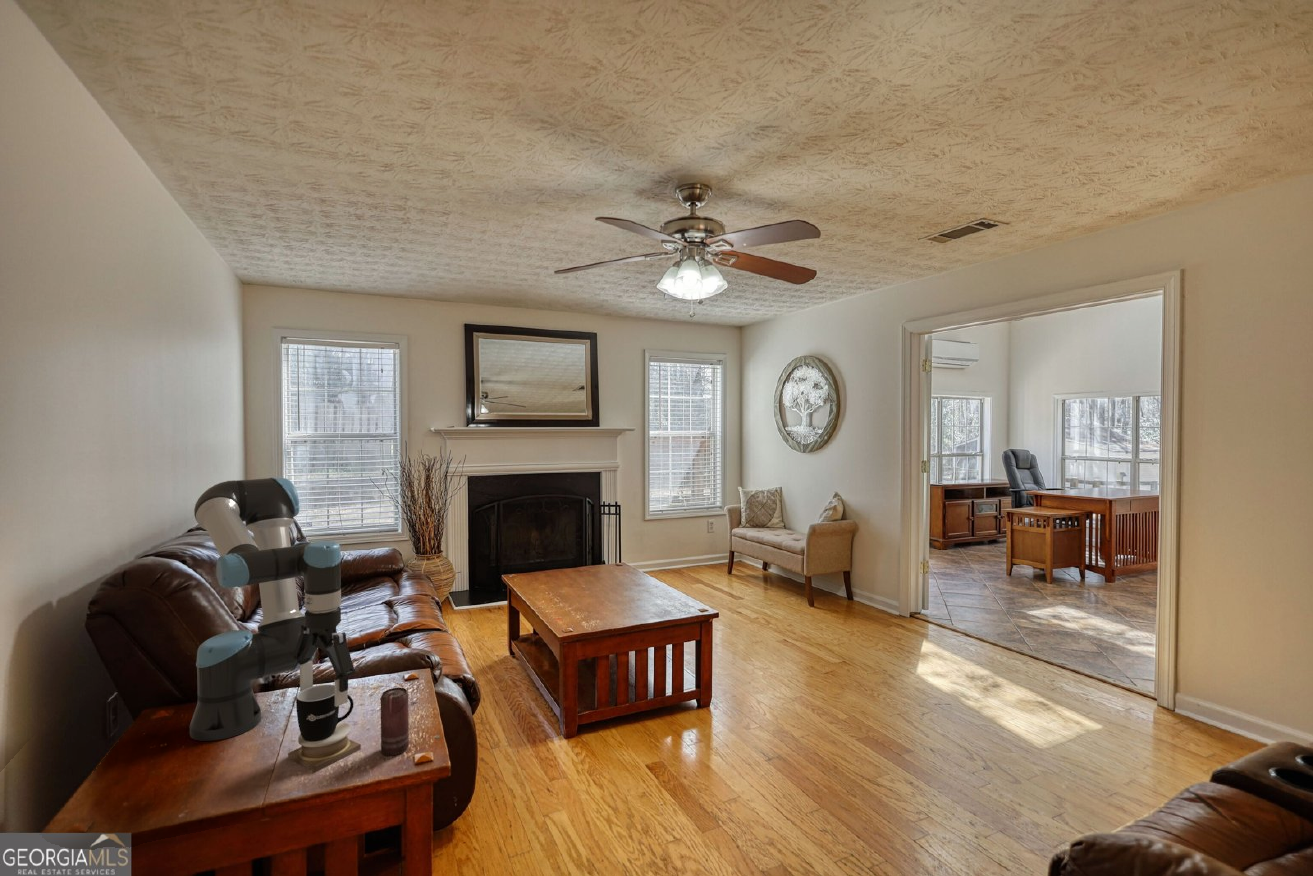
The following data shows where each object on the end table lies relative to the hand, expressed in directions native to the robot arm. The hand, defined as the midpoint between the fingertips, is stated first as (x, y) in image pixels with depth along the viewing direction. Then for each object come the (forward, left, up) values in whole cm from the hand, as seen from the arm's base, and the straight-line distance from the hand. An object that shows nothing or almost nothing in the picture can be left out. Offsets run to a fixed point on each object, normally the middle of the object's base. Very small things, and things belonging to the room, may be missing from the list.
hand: (323, 696), depth 148 cm
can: (+13, +9, -14) cm, 21 cm away
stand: (0, 0, -14) cm, 13 cm away
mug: (+1, 0, -9) cm, 9 cm away
